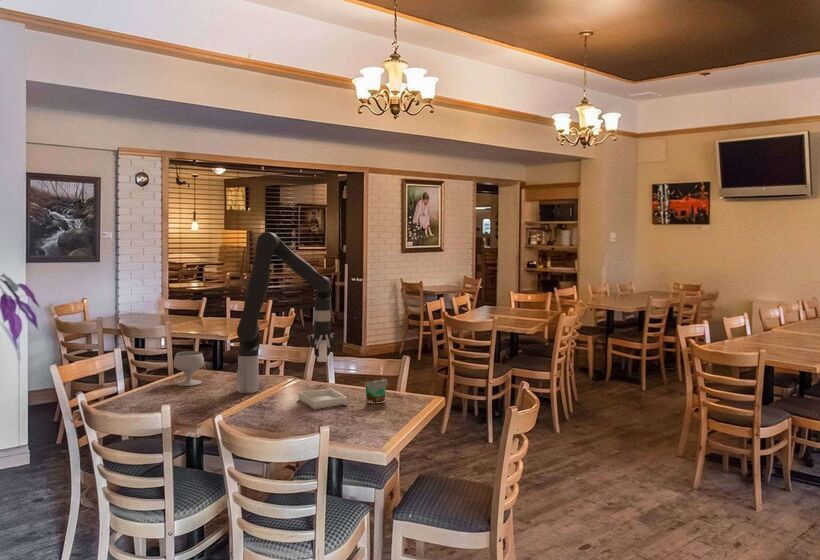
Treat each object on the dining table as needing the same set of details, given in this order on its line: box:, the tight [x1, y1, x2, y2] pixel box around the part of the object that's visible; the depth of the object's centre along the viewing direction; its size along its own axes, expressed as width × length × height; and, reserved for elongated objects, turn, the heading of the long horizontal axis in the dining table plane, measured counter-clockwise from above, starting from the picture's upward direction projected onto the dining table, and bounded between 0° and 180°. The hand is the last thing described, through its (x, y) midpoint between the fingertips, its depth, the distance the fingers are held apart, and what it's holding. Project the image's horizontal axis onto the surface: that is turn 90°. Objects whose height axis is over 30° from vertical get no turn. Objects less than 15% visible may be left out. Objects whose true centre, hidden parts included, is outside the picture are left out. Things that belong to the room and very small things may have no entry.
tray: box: [298, 388, 349, 410], centre depth 283 cm, size 16×18×4 cm
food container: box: [364, 376, 389, 403], centre depth 284 cm, size 12×6×10 cm, turn 143°
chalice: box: [173, 350, 205, 387], centre depth 312 cm, size 14×14×15 cm
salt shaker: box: [316, 340, 328, 363], centre depth 299 cm, size 5×5×10 cm
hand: (322, 355), depth 299 cm, fingers closed on salt shaker, 4 cm apart
